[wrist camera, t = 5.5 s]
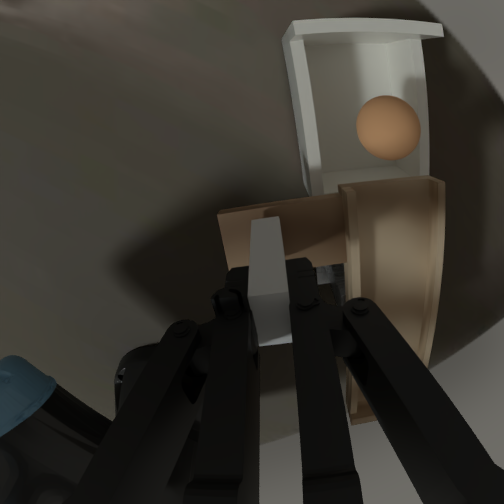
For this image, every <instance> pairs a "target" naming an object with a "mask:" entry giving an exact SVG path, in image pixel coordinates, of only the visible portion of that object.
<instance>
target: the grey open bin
mask: <svg viewBox="0 0 504 504" xmlns="http://www.w3.org/2000/svg"><path fill="white" fill-rule="evenodd" d="M437 37H444V34H443V28H442V24H438V23H431V22H422V21H412V20H400V19H382V18H327V19H309V20H296V21H292V23H291V24H290V26H289V28H288V29H287V31H286V33H285V34H284V36H283V38H282V39H281V40H282V45H283V51H284V56H285V62H286V67H287V73H288V79H289V85H290V91H291V97H292V103H293V110H294V116H295V123H296V130H297V136H298V144H299V151H300V158H301V166H302V174H303V182H304V185H305V187H306V190H307V192H308V195H309V197H311V196H318V195H326V194H334V193H338V184H346V183H355V182H363V181H373V180H382V179H392V178H402V177H413V176H425V175H429V117H428V100H427V88H426V77H425V68H424V59H423V52H422V45H421V40H422V39H429V38H437ZM382 95H390V96H395V97H398V98H400V99H402V100H404V101H405V102H407V103H408V104H409V105H410V106H411V107H412V108H413V109H414V111H415V112H416V114H417V116H418V118H419V121H420V126H421V135H420V139H419V142H418V144H417V146H416V148H415V149H414V150H413V151H412V152H411V153H410V154H409V155H408V156H406V157H404V158H402V159H398V160H384V159H380V158H378V157H376V156H374V155H372V154H371V153H370V152H368V151H367V150H366V149H365V148H364V146H363V145H362V143H361V142H360V140H359V137H358V134H357V129H356V121H357V116H358V113H359V111H360V109H361V108H362V106H363V105H364V104H365V103H366V102H367V101H369V100H370V99H372V98H374V97H377V96H382Z"/></svg>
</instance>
